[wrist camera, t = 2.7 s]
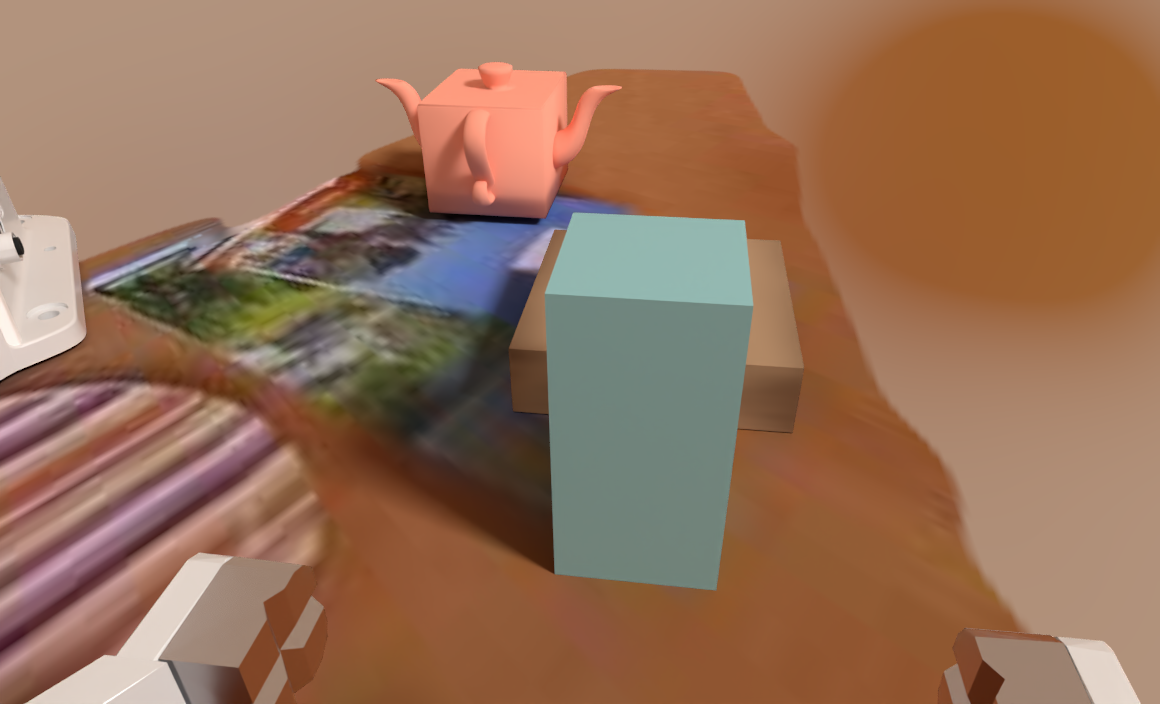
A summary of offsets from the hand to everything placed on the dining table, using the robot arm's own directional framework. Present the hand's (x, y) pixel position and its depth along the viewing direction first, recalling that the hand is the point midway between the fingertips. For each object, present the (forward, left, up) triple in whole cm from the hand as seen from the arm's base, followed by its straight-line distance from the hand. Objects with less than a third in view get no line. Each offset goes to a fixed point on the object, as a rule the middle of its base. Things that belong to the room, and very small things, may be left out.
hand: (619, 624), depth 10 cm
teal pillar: (-11, +5, -11) cm, 17 cm away
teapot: (-41, +8, -11) cm, 43 cm away
